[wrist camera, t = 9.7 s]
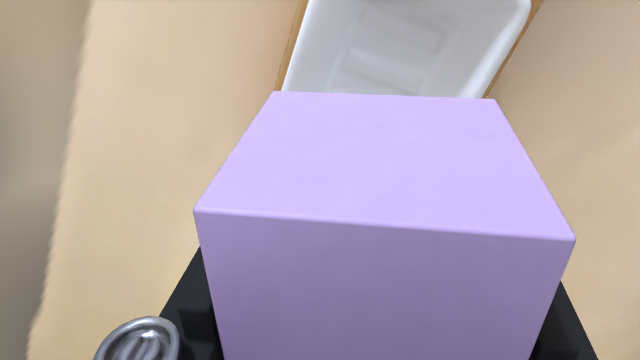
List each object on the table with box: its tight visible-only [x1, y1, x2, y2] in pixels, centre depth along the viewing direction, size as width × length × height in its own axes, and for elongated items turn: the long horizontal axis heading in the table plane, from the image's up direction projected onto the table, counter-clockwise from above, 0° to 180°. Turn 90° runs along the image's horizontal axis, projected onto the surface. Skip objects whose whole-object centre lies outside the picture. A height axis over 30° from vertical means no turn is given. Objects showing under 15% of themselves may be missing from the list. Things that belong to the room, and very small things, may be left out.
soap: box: [193, 91, 576, 360], centre depth 9 cm, size 8×5×4 cm, turn 1°
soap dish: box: [274, 0, 543, 99], centre depth 21 cm, size 12×10×5 cm
